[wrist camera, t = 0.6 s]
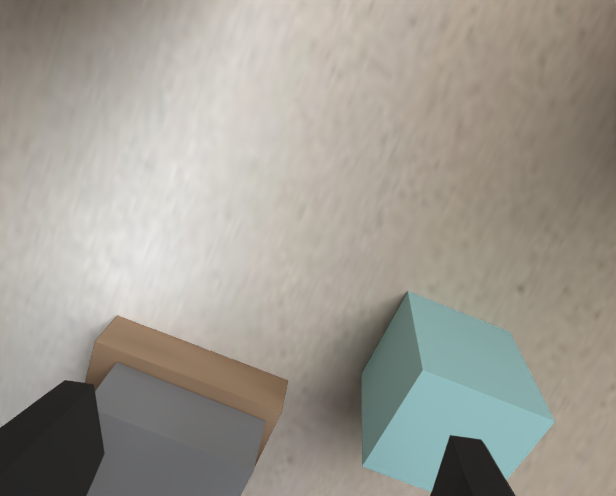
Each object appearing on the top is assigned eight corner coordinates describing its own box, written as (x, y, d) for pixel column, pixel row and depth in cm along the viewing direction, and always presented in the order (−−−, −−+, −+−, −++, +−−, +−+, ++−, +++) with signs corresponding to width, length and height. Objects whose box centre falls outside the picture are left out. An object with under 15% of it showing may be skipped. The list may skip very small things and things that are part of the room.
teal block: (455, 408, 21) (481, 510, 17) (361, 372, 21) (362, 466, 16) (509, 331, 20) (555, 421, 15) (407, 290, 19) (422, 370, 15)
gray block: (216, 514, 23) (200, 568, 20) (85, 465, 22) (53, 514, 20) (265, 420, 20) (253, 471, 18) (116, 362, 19) (84, 405, 17)
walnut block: (236, 484, 25) (224, 529, 23) (90, 431, 25) (63, 471, 22) (289, 372, 22) (281, 411, 20) (123, 309, 22) (94, 341, 19)
